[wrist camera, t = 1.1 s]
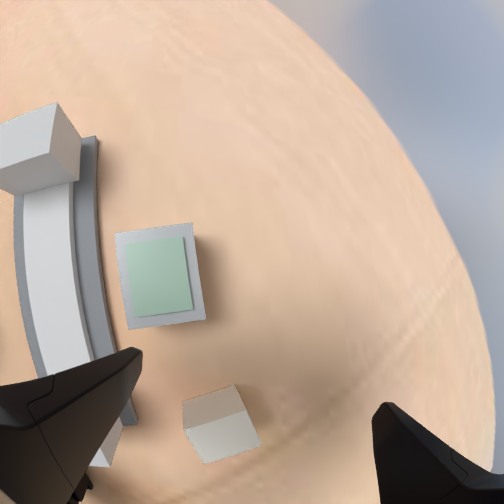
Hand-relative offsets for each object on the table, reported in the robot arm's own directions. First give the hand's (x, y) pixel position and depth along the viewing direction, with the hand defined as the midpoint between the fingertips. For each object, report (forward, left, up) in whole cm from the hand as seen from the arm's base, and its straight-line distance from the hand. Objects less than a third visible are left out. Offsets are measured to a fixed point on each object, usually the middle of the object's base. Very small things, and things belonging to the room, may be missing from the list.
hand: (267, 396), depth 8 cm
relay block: (-2, -9, -15) cm, 17 cm away
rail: (-14, +4, -14) cm, 20 cm away
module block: (-4, +4, -15) cm, 16 cm away
